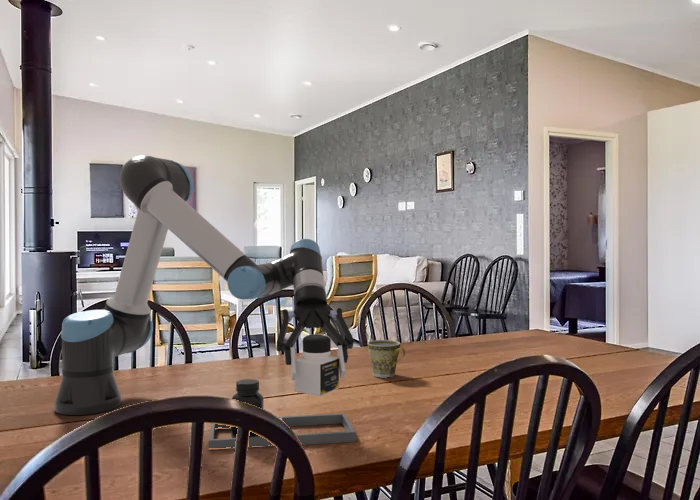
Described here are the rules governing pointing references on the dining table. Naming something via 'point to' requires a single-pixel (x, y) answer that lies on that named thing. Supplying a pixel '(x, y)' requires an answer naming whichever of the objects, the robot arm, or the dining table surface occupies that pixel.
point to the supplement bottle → (248, 397)
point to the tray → (304, 438)
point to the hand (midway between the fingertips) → (318, 375)
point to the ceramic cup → (384, 357)
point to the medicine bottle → (316, 367)
